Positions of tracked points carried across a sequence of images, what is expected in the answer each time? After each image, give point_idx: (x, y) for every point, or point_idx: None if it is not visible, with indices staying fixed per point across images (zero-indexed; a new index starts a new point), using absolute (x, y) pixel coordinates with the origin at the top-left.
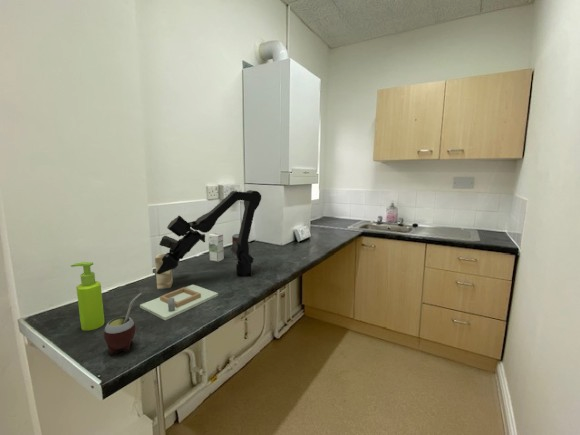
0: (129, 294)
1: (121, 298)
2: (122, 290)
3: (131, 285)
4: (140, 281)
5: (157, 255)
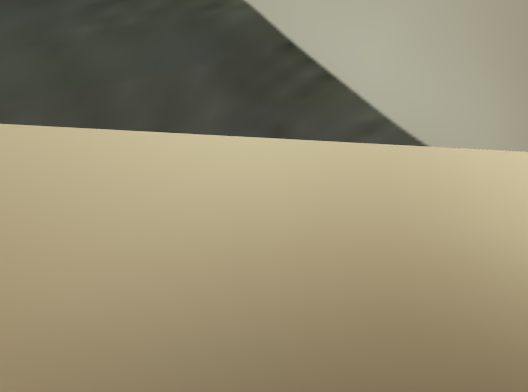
0: (75, 97)
1: (2, 59)
2: (185, 32)
3: (283, 69)
4: (368, 115)
5: (400, 154)
